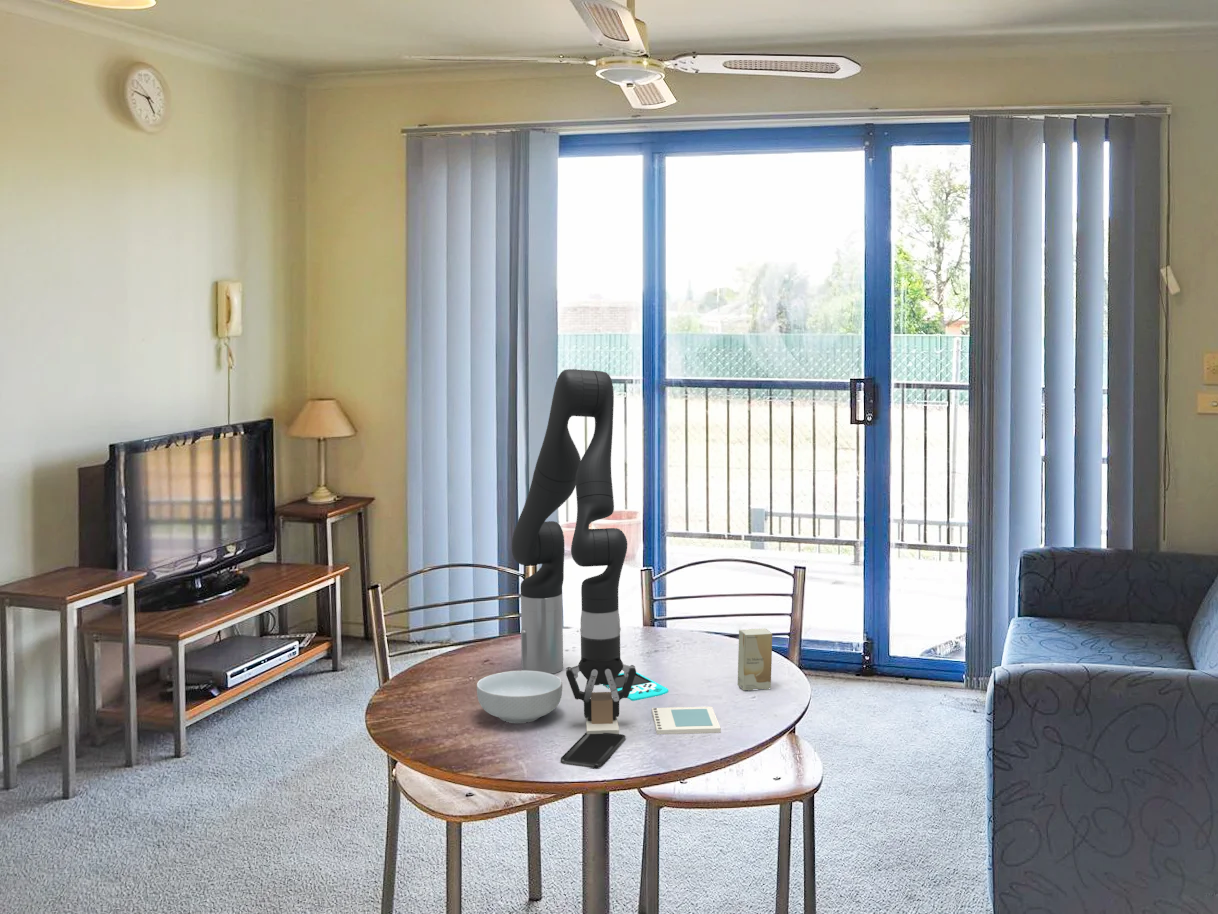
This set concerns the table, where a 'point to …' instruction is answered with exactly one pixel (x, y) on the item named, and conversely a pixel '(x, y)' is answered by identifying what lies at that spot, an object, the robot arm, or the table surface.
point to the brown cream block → (602, 714)
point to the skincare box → (754, 659)
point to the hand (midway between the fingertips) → (601, 718)
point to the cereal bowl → (519, 695)
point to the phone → (593, 750)
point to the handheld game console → (641, 687)
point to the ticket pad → (685, 720)
